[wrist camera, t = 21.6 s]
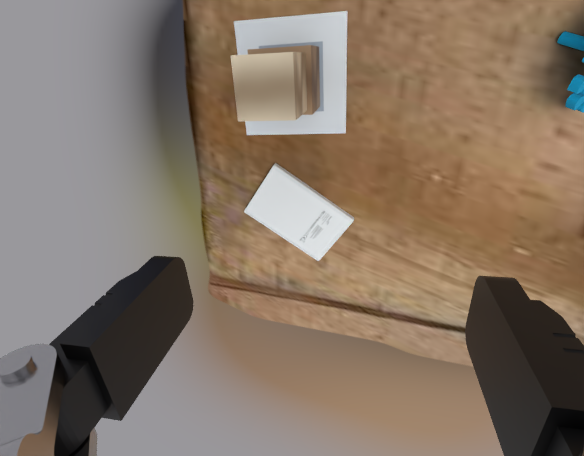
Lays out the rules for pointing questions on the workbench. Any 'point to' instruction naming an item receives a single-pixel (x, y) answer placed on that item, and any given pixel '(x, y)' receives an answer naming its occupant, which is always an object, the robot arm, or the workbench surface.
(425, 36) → the workbench surface
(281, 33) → the white square plate
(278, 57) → the maple block
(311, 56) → the walnut block
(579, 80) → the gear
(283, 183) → the external hard drive
